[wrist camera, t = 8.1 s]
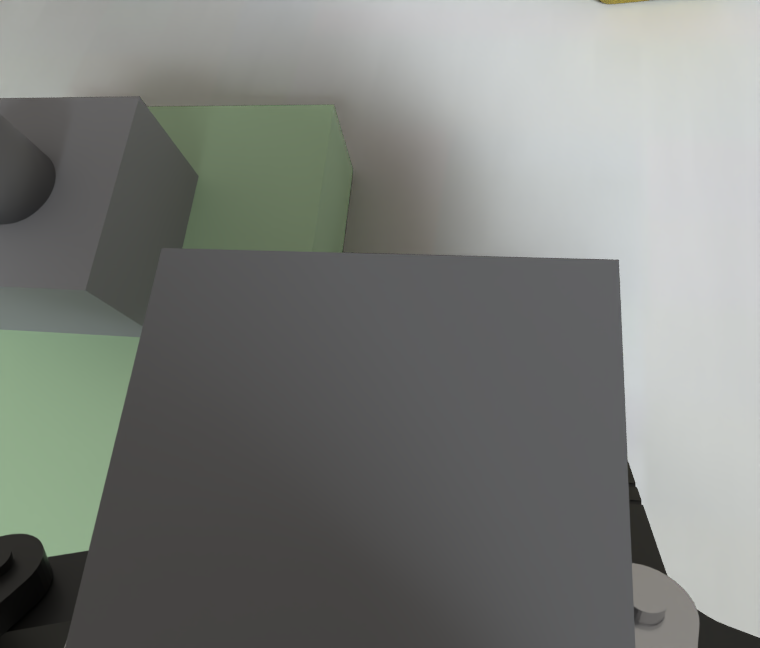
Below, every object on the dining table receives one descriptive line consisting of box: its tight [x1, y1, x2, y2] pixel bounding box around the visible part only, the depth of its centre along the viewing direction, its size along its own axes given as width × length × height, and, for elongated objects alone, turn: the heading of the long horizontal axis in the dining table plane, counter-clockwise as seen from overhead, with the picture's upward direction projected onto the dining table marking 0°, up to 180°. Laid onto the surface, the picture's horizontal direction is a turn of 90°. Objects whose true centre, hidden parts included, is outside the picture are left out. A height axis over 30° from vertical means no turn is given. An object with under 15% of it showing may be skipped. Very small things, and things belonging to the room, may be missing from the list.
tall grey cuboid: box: [65, 248, 635, 648], centre depth 11 cm, size 5×6×12 cm
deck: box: [0, 96, 353, 557], centre depth 17 cm, size 22×20×10 cm
